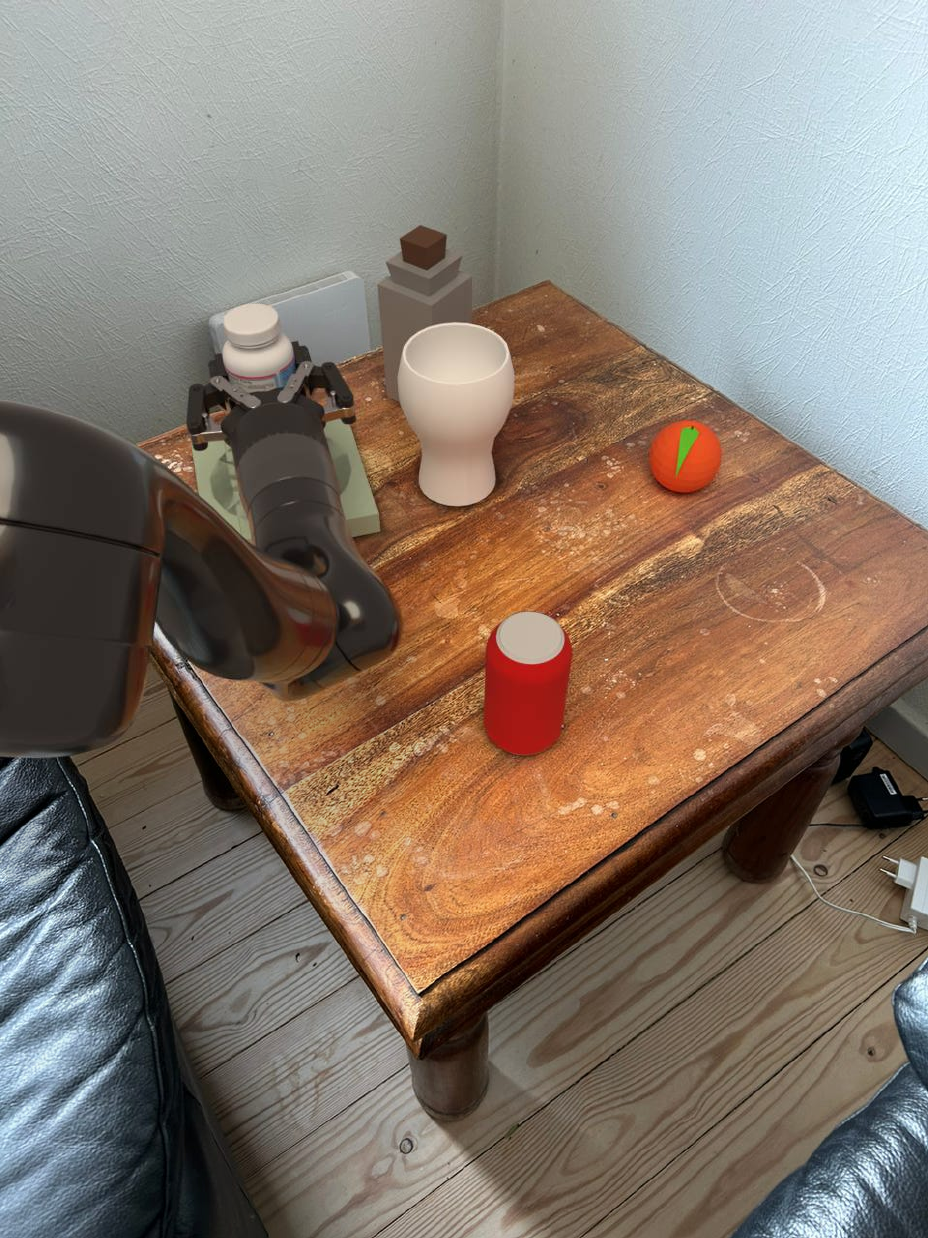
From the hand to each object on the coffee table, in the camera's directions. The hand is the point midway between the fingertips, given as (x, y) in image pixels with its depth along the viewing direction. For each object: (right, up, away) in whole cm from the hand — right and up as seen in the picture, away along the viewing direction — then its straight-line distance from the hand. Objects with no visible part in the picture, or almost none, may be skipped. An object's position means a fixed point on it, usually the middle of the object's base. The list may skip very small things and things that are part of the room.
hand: (257, 356), depth 82 cm
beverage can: (+23, -32, -8) cm, 40 cm away
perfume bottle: (+14, +2, +20) cm, 25 cm away
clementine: (+40, -10, +10) cm, 42 cm away
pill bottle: (+1, -6, +3) cm, 7 cm away
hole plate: (0, -11, +10) cm, 15 cm away
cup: (+18, -10, +11) cm, 23 cm away
